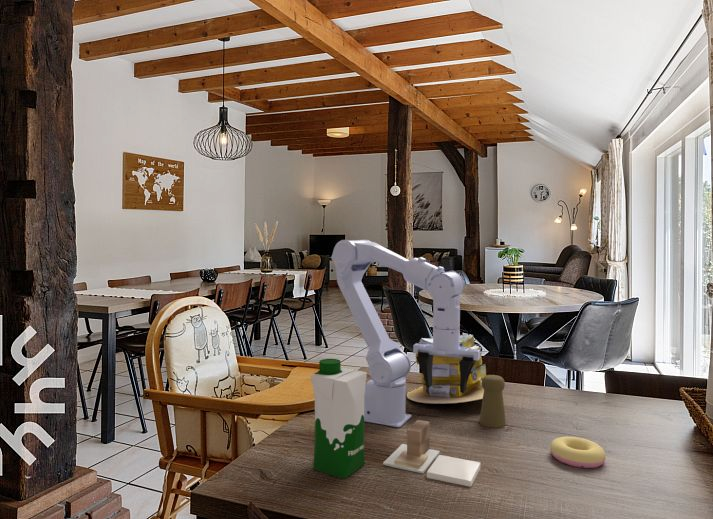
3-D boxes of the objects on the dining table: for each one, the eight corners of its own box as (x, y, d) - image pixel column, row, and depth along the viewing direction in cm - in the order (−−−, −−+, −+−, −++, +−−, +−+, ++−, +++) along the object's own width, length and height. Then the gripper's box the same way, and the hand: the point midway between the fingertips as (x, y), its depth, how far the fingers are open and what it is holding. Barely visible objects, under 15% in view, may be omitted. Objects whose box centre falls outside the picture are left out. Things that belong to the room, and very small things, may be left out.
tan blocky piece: (411, 445, 109) (412, 418, 108) (435, 449, 107) (435, 422, 106) (394, 463, 100) (394, 435, 100) (419, 468, 98) (419, 439, 98)
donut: (567, 456, 110) (541, 462, 104) (566, 433, 110) (540, 437, 105) (615, 466, 102) (590, 472, 96) (613, 441, 103) (588, 446, 97)
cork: (507, 428, 119) (507, 380, 118) (479, 426, 120) (480, 378, 119) (505, 419, 125) (505, 373, 124) (478, 417, 126) (479, 371, 125)
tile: (439, 461, 103) (426, 479, 95) (439, 454, 103) (426, 471, 95) (480, 469, 99) (470, 488, 92) (480, 462, 99) (471, 481, 92)
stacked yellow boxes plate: (387, 398, 140) (388, 336, 139) (442, 379, 158) (442, 323, 157) (467, 422, 123) (468, 351, 122) (518, 397, 141) (519, 335, 140)
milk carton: (332, 453, 106) (332, 354, 105) (371, 464, 101) (372, 360, 100) (306, 470, 98) (305, 364, 97) (346, 482, 93) (346, 371, 92)
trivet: (383, 464, 100) (383, 462, 100) (402, 445, 109) (402, 443, 109) (423, 473, 97) (423, 471, 97) (439, 452, 106) (439, 450, 106)
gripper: (408, 327, 114) (408, 389, 115) (475, 333, 108) (474, 398, 109) (419, 322, 121) (419, 380, 122) (482, 327, 114) (482, 389, 115)
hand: (445, 388), depth 116 cm, fingers open, 7 cm apart
